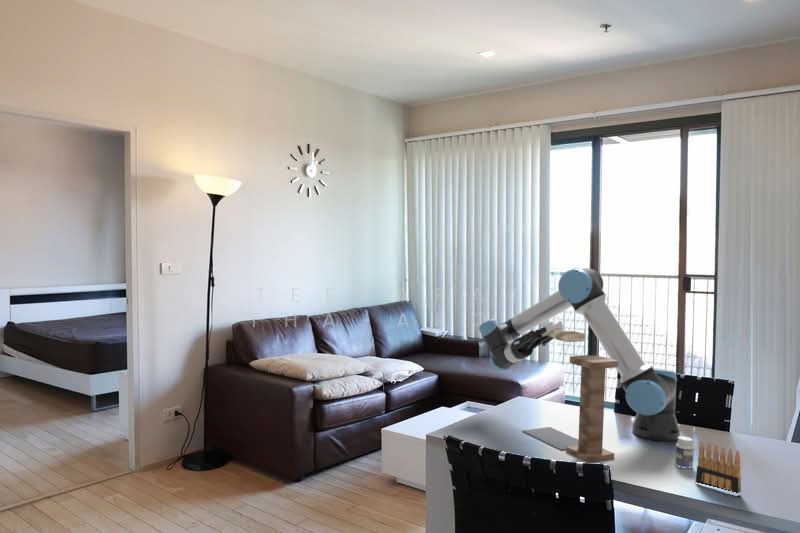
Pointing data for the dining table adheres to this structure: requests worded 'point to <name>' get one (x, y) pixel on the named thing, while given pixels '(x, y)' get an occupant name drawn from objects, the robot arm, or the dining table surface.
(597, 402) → the stand
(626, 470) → the dining table surface
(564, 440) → the mat
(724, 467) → the ammunition clip
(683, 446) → the pill bottle
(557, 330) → the paddle
